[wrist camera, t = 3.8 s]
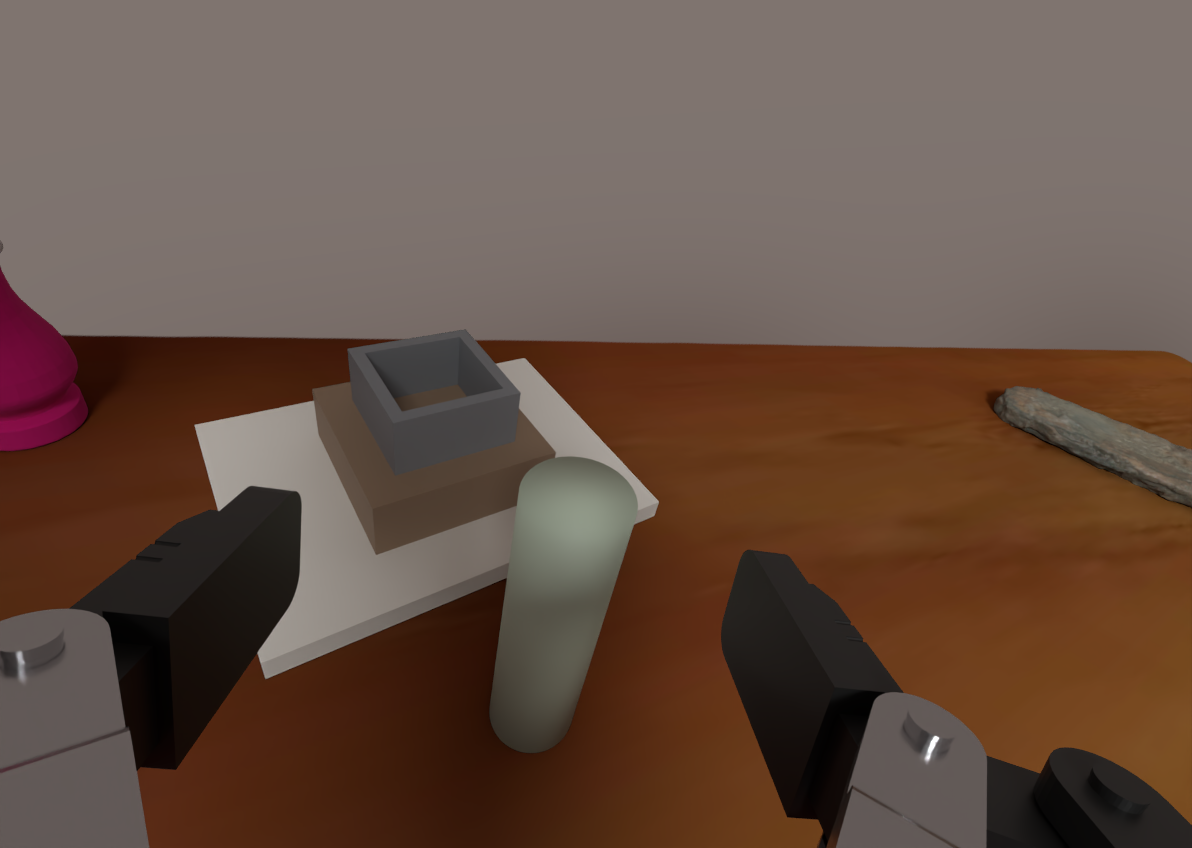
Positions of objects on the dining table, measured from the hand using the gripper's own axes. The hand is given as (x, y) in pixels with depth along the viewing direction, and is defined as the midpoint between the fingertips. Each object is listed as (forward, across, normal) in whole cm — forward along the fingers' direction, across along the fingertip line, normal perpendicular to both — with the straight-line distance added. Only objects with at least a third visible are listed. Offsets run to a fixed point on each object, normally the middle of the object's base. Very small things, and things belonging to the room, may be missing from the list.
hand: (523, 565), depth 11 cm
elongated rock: (+43, -65, +8) cm, 78 cm away
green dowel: (+16, -2, +18) cm, 24 cm away
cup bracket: (+31, +6, +13) cm, 34 cm away
